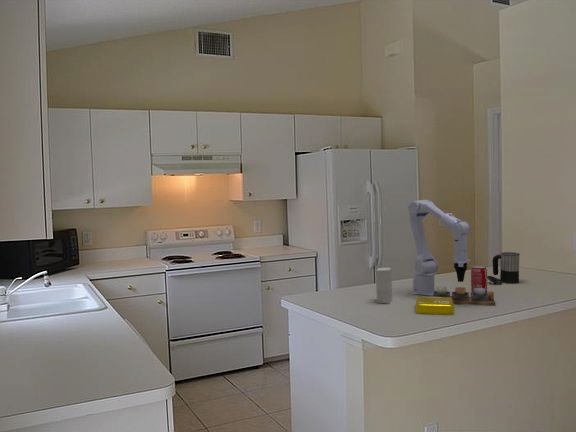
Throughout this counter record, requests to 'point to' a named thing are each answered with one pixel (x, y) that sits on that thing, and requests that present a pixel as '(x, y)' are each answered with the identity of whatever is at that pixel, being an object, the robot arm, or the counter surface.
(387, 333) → the counter surface
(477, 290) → the slate button
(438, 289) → the sage button
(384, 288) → the skincare box
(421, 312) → the element tile
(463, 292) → the terracotta button
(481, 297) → the panel
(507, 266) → the milk frother
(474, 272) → the soda can
